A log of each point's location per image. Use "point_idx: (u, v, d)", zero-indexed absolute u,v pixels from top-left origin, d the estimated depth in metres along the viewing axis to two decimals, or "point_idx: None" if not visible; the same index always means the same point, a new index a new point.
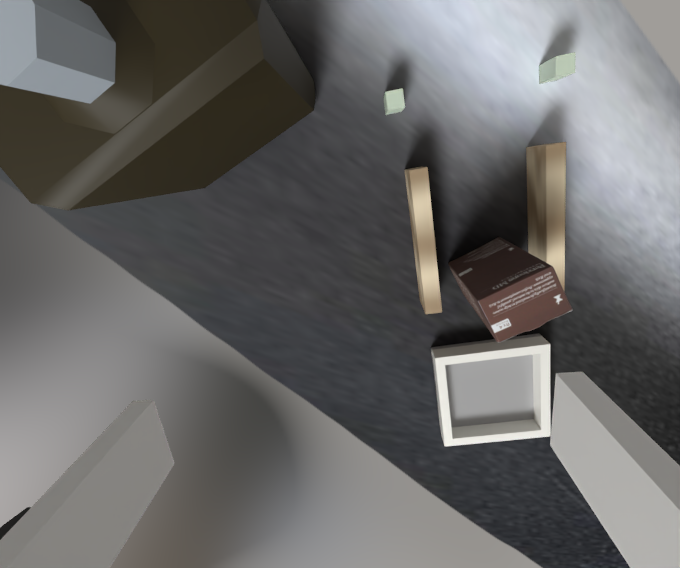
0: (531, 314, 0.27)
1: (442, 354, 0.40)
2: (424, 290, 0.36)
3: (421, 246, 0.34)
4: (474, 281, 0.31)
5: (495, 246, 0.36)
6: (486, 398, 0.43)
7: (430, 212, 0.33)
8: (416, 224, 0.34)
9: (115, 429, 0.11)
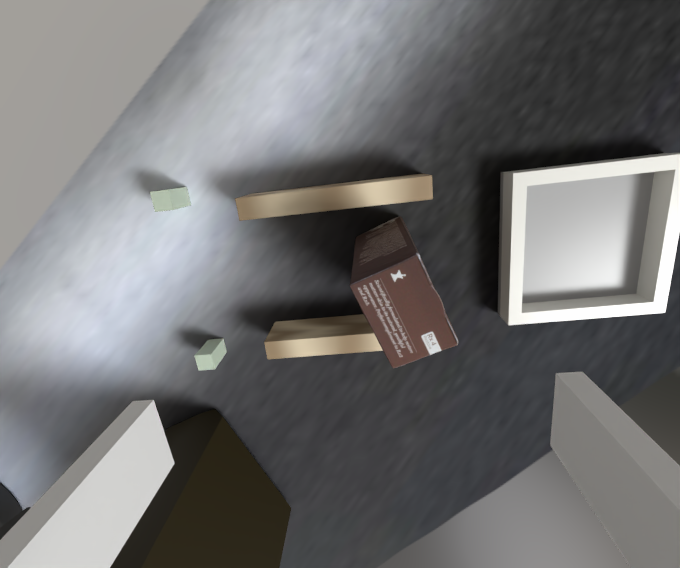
0: (417, 308, 0.20)
1: (506, 311, 0.30)
2: None
3: (350, 349, 0.30)
4: None
5: None
6: (595, 244, 0.29)
7: (312, 339, 0.30)
8: (325, 353, 0.30)
9: (115, 429, 0.11)
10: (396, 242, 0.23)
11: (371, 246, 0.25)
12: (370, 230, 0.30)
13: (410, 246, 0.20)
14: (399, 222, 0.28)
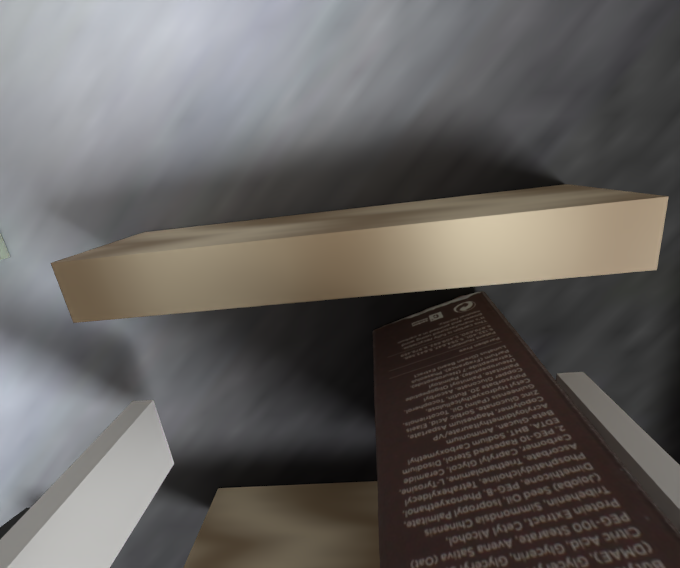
0: None
1: None
2: None
3: None
4: None
5: None
6: None
7: None
8: None
9: (115, 429, 0.11)
10: (567, 492, 0.05)
11: (438, 435, 0.07)
12: (408, 318, 0.13)
13: None
14: (498, 323, 0.10)
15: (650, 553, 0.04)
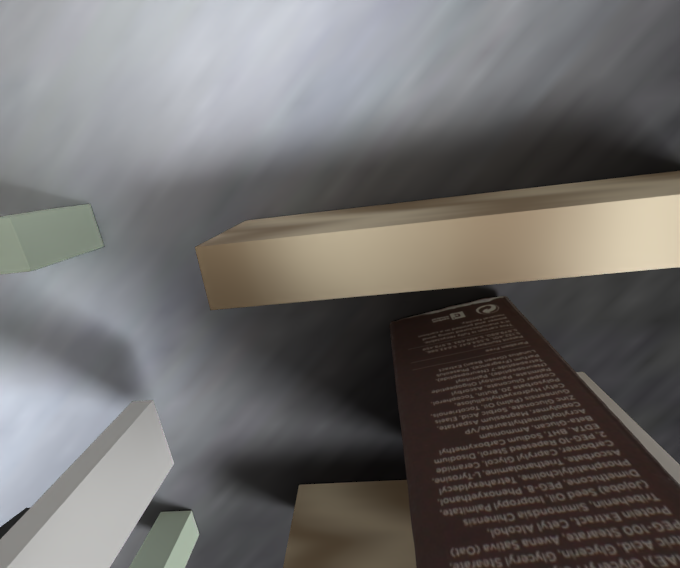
0: None
1: None
2: None
3: None
4: None
5: None
6: None
7: None
8: None
9: (115, 429, 0.11)
10: (613, 495, 0.05)
11: (469, 429, 0.07)
12: (427, 314, 0.13)
13: None
14: (524, 328, 0.10)
15: None
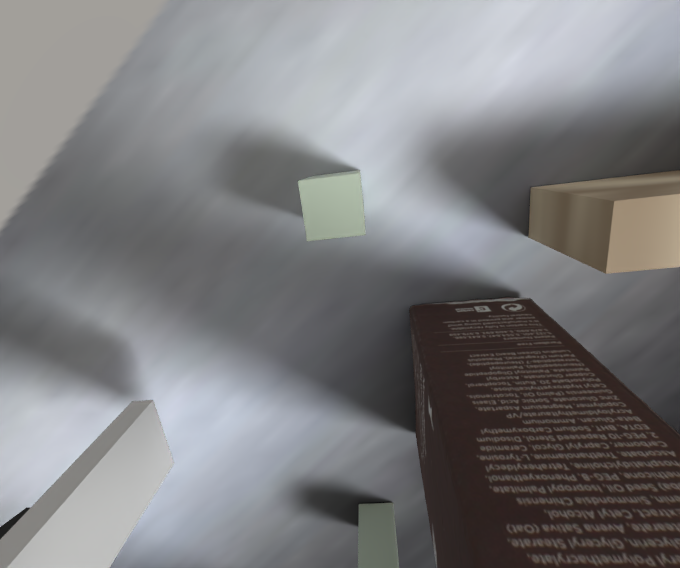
0: None
1: None
2: None
3: None
4: None
5: (417, 372, 0.11)
6: None
7: None
8: None
9: (115, 429, 0.11)
10: (675, 492, 0.05)
11: (511, 413, 0.07)
12: (449, 303, 0.13)
13: None
14: (555, 329, 0.10)
15: None
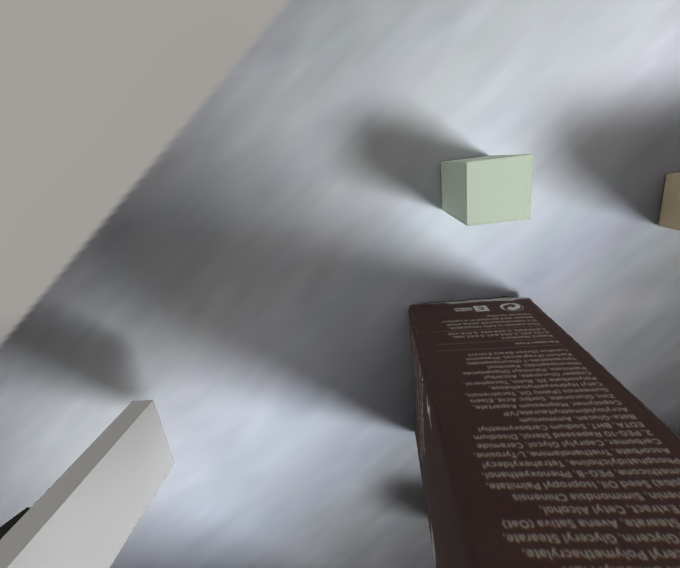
0: None
1: None
2: None
3: None
4: None
5: (416, 371, 0.11)
6: None
7: None
8: None
9: (115, 429, 0.11)
10: (668, 488, 0.05)
11: (508, 411, 0.07)
12: (448, 303, 0.13)
13: None
14: (553, 328, 0.10)
15: None
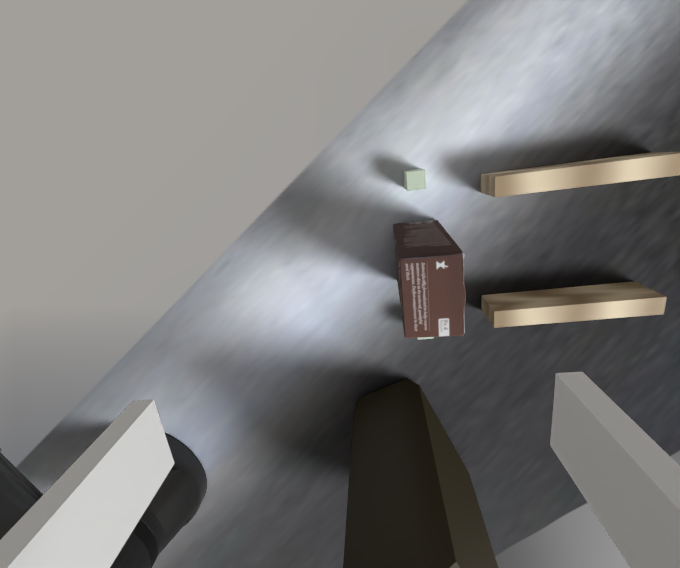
0: (445, 296, 0.24)
1: None
2: (631, 315, 0.31)
3: (577, 317, 0.32)
4: None
5: None
6: None
7: (541, 308, 0.32)
8: (551, 322, 0.32)
9: (115, 429, 0.11)
10: (439, 239, 0.27)
11: (413, 235, 0.29)
12: (408, 223, 0.34)
13: (455, 246, 0.24)
14: (438, 224, 0.32)
15: (448, 241, 0.26)
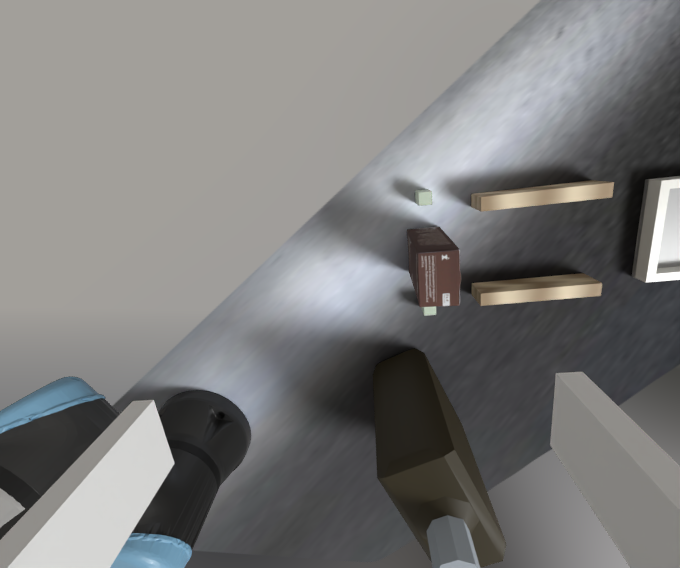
0: (447, 278, 0.36)
1: (643, 273, 0.45)
2: (578, 296, 0.44)
3: (540, 298, 0.44)
4: (415, 287, 0.40)
5: (408, 242, 0.45)
6: None
7: (514, 291, 0.44)
8: (521, 301, 0.44)
9: (115, 429, 0.11)
10: (442, 240, 0.39)
11: (424, 238, 0.41)
12: (417, 228, 0.46)
13: (453, 245, 0.37)
14: (440, 230, 0.44)
15: (448, 242, 0.38)
